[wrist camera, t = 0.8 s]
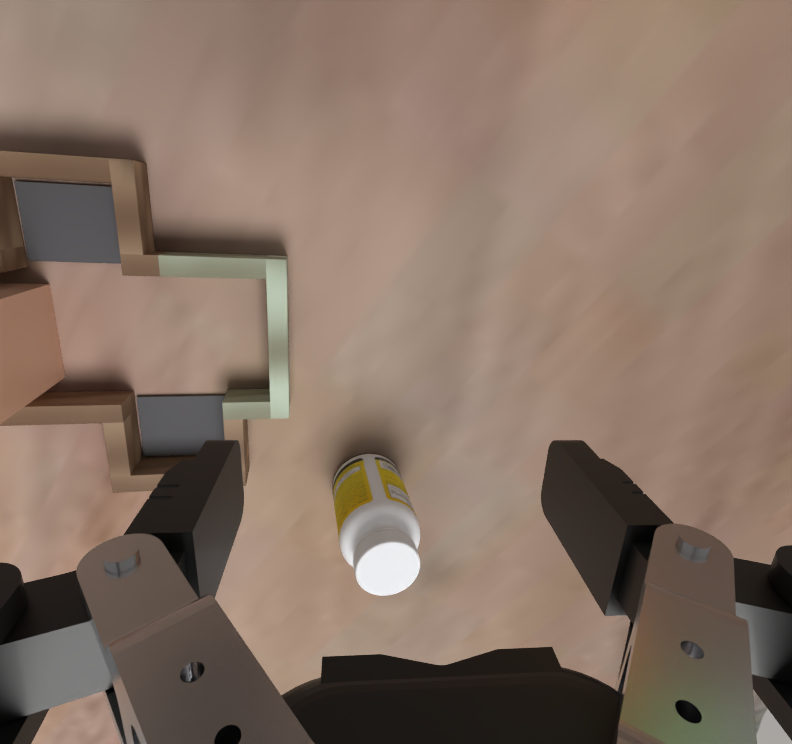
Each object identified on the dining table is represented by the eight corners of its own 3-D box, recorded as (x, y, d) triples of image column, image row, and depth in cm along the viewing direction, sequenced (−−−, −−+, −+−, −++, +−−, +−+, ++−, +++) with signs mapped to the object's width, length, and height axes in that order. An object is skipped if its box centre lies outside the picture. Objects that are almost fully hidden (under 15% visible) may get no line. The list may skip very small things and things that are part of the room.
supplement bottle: (330, 513, 38) (340, 609, 29) (333, 452, 37) (344, 533, 28) (397, 510, 39) (427, 602, 30) (403, 451, 38) (436, 528, 29)
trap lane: (-99, 147, 26) (-137, 141, 24) (285, 173, 30) (284, 170, 28) (-18, 479, 33) (-42, 500, 30) (290, 465, 36) (290, 483, 34)
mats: (16, 181, 28) (14, 181, 27) (212, 192, 30) (212, 192, 29) (65, 457, 33) (64, 459, 33) (228, 451, 35) (227, 452, 35)
